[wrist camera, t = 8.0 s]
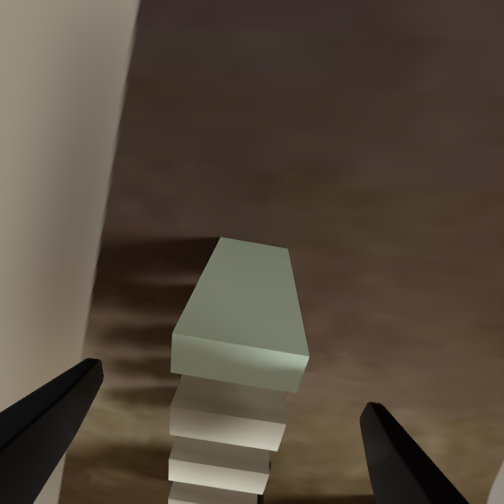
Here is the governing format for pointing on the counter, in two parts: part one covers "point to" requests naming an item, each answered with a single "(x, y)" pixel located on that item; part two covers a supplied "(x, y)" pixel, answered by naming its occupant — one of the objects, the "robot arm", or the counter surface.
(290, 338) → the domino
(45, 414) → the robot arm
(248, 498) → the domino
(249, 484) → the domino
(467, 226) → the counter surface
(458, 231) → the counter surface
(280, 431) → the domino
